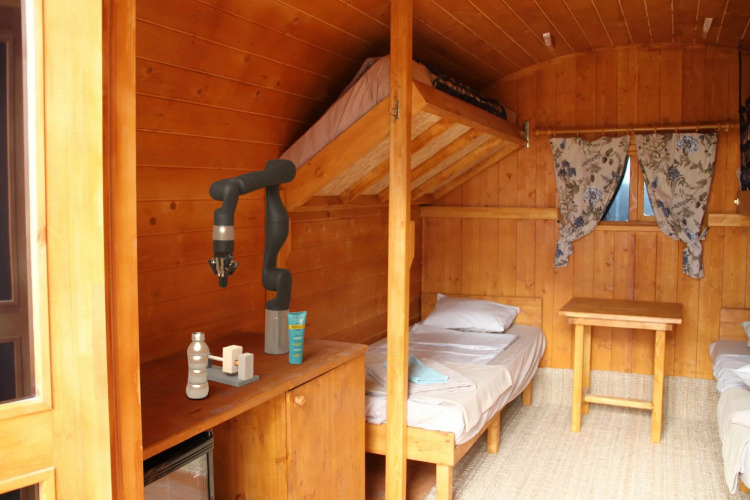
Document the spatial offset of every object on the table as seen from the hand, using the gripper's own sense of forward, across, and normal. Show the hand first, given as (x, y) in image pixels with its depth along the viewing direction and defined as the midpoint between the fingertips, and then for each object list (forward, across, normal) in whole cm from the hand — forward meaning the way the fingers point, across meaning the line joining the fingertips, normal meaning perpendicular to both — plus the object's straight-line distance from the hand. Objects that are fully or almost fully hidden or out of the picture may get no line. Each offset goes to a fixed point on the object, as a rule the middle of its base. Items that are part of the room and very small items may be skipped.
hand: (223, 287), depth 234 cm
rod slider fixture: (+29, -9, +8) cm, 31 cm away
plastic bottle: (+29, -18, +29) cm, 45 cm away
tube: (+29, -16, -22) cm, 40 cm away
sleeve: (+26, -13, +8) cm, 30 cm away
